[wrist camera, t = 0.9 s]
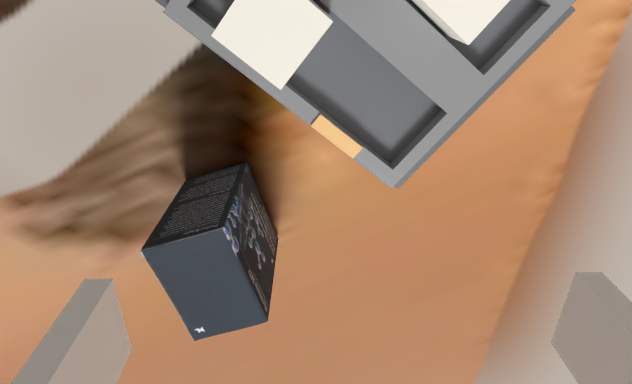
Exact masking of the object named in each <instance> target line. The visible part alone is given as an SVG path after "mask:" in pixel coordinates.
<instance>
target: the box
mask: <svg viewBox="0 0 632 384" xmlns="http://www.w3.org/2000/svg"><path fill="white" fill-rule="evenodd" d="M277 244H278V237H277V235H276V232H275V230H274V228H273V225H272V223H271V220H270V218H269V216H268V213H267V211H266V208H265V206H264V204H263V201H262V199H261V196H260V194H259V191H258V189H257V186H256V184H255V182H254V179H253V177H252V174H251V171H250V169H249V166H248V164H247V163H243V164H239V165H236V166H233V167H229V168H226V169H222V170H219V171H215V172H212V173H208V174H205V175H201V176H198V177H194V178H191V179H188V180H186V181H185V182H184V184H183V185H182V187H181V189H180V190H179V192H178V193H177V195H176V196H175V198H174V199H173V201H172V203H171V204H170V205H169V207H168V209H167V210H166V212H165V213H164V215H163V216H162V218H161V220H160V221H159V223H158V224H157V226H156V227H155V229H154V230H153V232H152V233H151V235H150V236H149V238H148V240H147V241H146V243H145V244H144V246H143V247H142V250H141V254H142V255H143V256H144V257H145V259H146V261H147V262H148V263H149V265H150V267H151V268H152V270H153V271H154V273H155V274H156V276H157V278H158V280H159V281H160V283H161V285H162V286H163V288H164V289H165V291H166V293H167V294H168V296H169V298H170V299H171V301H172V303H173V305H174V306H175V308H176V310H177V311H178V313H179V315H180V317H181V319H182V320H183V322H184V324H185V325H186V327H187V329H188V331H189V333H190V335H191V336H192V338H193V339H194V341H196V340H199V339H203V338H206V337H211V336H215V335H219V334H223V333H227V332H231V331H235V330H239V329H243V328H247V327H251V326H254V325H258V324H261V323H264V322H267V321H268V314H269V308H270V300H271V293H272V284H273V276H274V268H275V260H276V252H277Z"/></svg>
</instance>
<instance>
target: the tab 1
mask: <svg viewBox="0 0 632 384" xmlns="http://www.w3.org/2000/svg"><path fill="white" fill-rule="evenodd" d="M332 23H333V21H332V18H331V16H330V15H329V14H328V13H327V12H326V11H324V10H323V9H322V8H321V7H320V6H319V5H318V4H317V3H315V2H314V1H313V0H234V2H233V3H232V5H231V6H230V8H229V10H228V11H227V13H226V14H225V16H224V17H223V19H222V20H221V22H220V23H219V25H218V26H217V28H216V29H215V31H214V32H213V34H212V35H211V36H212V37H213V38H214V39H216V40H217V41H218V42H220V43H221V44H222V45H223V46H225V47H226V48H227V49H229V50H230V51H231V52H232V53H234V54H235V55H236V56H237V57H239V58H240V59H241V60H243V61H244V62H245V63H246V64H248V65H249V66H250V67H252V68H253V69H254V70H255V71H257V72H258V73H259V74H261V75H262V76H263V77H264V78H266V79H267V80H268V81H269V82H271V83H272V84H273V85H275V86H276V87H277V88H278V89H280V90H281V89H282V88H283V86H284V85H285V84H286V82H287V81H288V80H289V79H290V77H291V76H292V75H293V73H294V72H295V71H296V69H297V68H298V67H299V66H300V64H301V63H302V62H303V60H304V59H305V58H306V56H307V55H308V54H309V53H310V51H311V50H312V49H313V47H314V46H315V45H316V43H317V42H318V41H319V40H320V38H321V37H322V36H323V34H324V33H325V32H326V30H327V29H328V28H329V27H330V25H331V24H332Z"/></svg>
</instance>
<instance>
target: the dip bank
mask: <svg viewBox="0 0 632 384" xmlns="http://www.w3.org/2000/svg"><path fill="white" fill-rule="evenodd" d="M156 1H157V2H158V3H159V4H160V5H162V6H163V7H164V8H165V10H164V11H163V12H164V13H165V14H166V15H167V16H169V17H170V18H171V19H173V20H174V21H175V22H176V23H178V24H179V25H180V26H182V27H183V28H184V29H185V30H187V31H188V32H189V33H191V34H192V35H193V36H194V37H196V38H197V39H198V40H200V41H201V42H202V43H204V44H205V45H206V46H207V47H209V48H210V49H211V50H213V51H214V52H215V53H216V54H218V55H219V56H220V57H222V58H223V59H224V60H226V61H227V62H228V63H229V64H231V65H232V66H233V67H235V68H236V69H237V70H239V71H240V72H241V73H242V74H244V75H245V76H246V77H248V78H249V79H250V80H252V81H253V82H254V83H255V84H257V85H258V86H259V87H261V88H262V89H263V90H264V91H266V92H267V93H268V94H270V95H271V96H272V97H274V98H275V99H276V100H277V101H279V102H280V103H281V104H283V105H284V106H285V107H287V108H288V109H289V110H290V111H292V112H293V113H294V114H296V115H297V116H298V117H299V118H301V119H302V120H303V121H305V122H306V123H307V124H309V125H310V126H311V127H312V128H314V129H315V130H316V131H318V132H319V133H320V134H322V135H323V136H324V137H325V138H327V139H328V140H329V141H331V142H332V143H333V144H334V145H336V146H337V147H338V148H340V149H341V150H342V151H344V152H345V153H346V154H347V155H349V156H350V157H351V158H353V159H354V160H355V161H357V162H358V163H359V164H360V165H362V166H363V167H364V168H366V169H367V170H368V171H370V172H371V173H372V174H373V175H375V176H376V177H377V178H379V179H380V180H381V181H382V182H384V183H385V184H386V185H388V186H389V187H390V188H392V187H393V186H395V187H396V188H399V187H400V186H401V185H402V184H403V183H404V182H405V181H406V180H407V179H408V178H409V177H410V176H411V175H412V174H413V173H414V172H415V171H416V170H417V169H418V168H419V167H420V166H421V165H422V164H423V163H424V162H425V161H426V160H427V159H428V158H429V157H430V156H431V155H432V154H433V153H434V152H435V151H436V150H437V149H438V148H439V147H440V146H441V145H442V144H443V143H444V142H445V141H446V140H447V139H448V138H449V137H450V136H451V135H452V134H453V133H454V132H455V131H456V130H457V129H458V128H459V127H460V126H461V125H462V124H463V123H464V122H465V121H466V120H467V119H468V118H469V117H470V116H471V115H472V114H473V113H474V112H475V111H476V110H477V109H478V108H479V107H480V106H481V105H482V104H483V103H484V102H485V101H486V100H487V99H488V98H489V97H490V96H491V95H492V94H493V93H494V92H495V91H496V90H497V89H498V88H499V87H500V86H501V85H502V84H503V83H504V82H505V81H506V80H507V79H508V78H509V77H510V75H511V74H512V73H513V72H514V71H515V70H516V69H517V68H518V67H519V66H520V65H521V64H522V63H523V62H524V61H525V60H526V59H527V58H528V57H529V56H530V55H531V54H532V53H533V52H534V51H535V50H536V49H537V48H538V47H539V46H540V45H541V44H542V43H543V42H544V41H545V40H546V39H547V38H548V37H549V36H550V35H551V34H552V33H553V32H554V31H555V30H556V29H557V28H558V27H559V26H560V25H561V24H562V23H563V22H564V21H565V20H566V19H567V18H568V17H569V16H570V15H571V14H572V13H573V12H574V11H575V9H574V8H573V7H572V6H571V5H572V4H573V3H574V2H575V1H576V0H510V1H509V2H508V3H507V4H506V5H505V6H504V8H503V9H502V10H501V11H500V12H499V13H498V14H497V15H496V16H495V17H494V18H493V19H492V21H491V22H490V23H489V24H488V25H487V26H486V27H485V28H484V29H483V30H482V31H481V33H480V34H479V35H478V36H477V37H476V38H475V39H474V40H473V41H472V42H471V43H470V44H469V45H467V44H465V43H462V42H460V41H458V40H456V39H453V38H451V37H449V36H447V35H446V34H445V33H444V32H443V31H442V30H441V29H440V28H439V27H438V26H437V25H436V24H435V23H433V22H432V21H431V20H430V19H429V18H428V17H427V16H426V15H425V14H424V13H423V12H422V11H421V10H420V9H419V8H418V7H417V6H416V5H415V4H414V3H413V2H412V1H411V0H313V1H314V2H315V3H317V4H318V5H319V6H320V7H321V8H322V9H323V10H324V11H326V12H327V13H328V14H329V15H330V16H331V18H332V21H333V23H332V24H331V25H330V27H329V28H328V29H327V30H326V32H325V33H324V34H323V36H322V37H321V38H320V40H319V41H318V42H317V43H316V45H315V46H314V47H313V49H312V50H311V51H310V53H309V54H308V55H307V56H306V58H305V59H304V60H303V62H302V63H301V64H300V66H299V67H298V68H297V69H296V71H295V72H294V73H293V75H292V76H291V77H290V79H289V80H288V81H287V82H286V84H285V85H284V86H283V88H282V89H281V90H280V89H278V88H277V87H276V86H275V85H273V84H272V83H271V82H269V81H268V80H267V79H266V78H264V77H263V76H262V75H261V74H259V73H258V72H257V71H255V70H254V69H253V68H252V67H250V66H249V65H248V64H246V63H245V62H244V61H243V60H241V59H240V58H239V57H237V56H236V55H235V54H234V53H232V52H231V51H230V50H229V49H227V48H226V47H225V46H223V45H222V44H221V43H220V42H218V41H217V40H216V39H214V38H213V37H212V36H211V35H212V34H213V32H214V31H215V29H216V28H217V26H218V25H219V23H220V22H221V20H222V19H223V17H224V16H225V14H226V13H227V11H228V10H229V8H230V6H231V5H232V3H233V2H234V0H156Z"/></svg>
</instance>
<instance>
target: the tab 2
mask: <svg viewBox="0 0 632 384" xmlns="http://www.w3.org/2000/svg"><path fill="white" fill-rule="evenodd" d="M411 1H412V2H413V3H414V4H415V5H416V6H417V7H418V8H419V9H420V10H421V11H422V12H423V13H424V14H425V15H426V16H427V17H428V18H429V19H430V20H431V21H432V22H433V23H435V24H436V25H437V26H438V27H439V28H440V29H441V30H442V31H443V32H444V33H445V34H446V35H447V36H449V37H451V38H453V39H456V40H458V41H460V42H462V43H465V44H467V45H469V44H470V43H471V42H472V41H473V40H474V39H475V38H476V37H477V36H478V35H479V34H480V33H481V31H482V30H483V29H484V28H485V27H486V26H487V25H488V24H489V23H490V22H491V21H492V19H493V18H494V17H495V16H496V15H497V14H498V13H499V12H500V11H501V10H502V9H503V8H504V6H505V5H506V4H507V3H508V2H509V1H510V0H411Z"/></svg>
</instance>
